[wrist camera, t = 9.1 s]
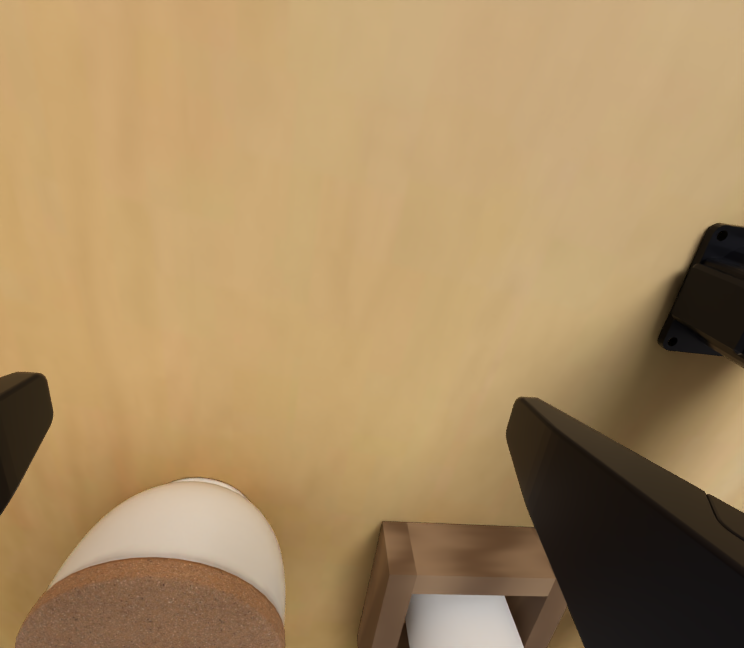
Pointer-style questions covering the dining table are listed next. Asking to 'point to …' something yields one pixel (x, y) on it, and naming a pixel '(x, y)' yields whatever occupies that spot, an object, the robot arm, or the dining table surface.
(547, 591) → the sleeve block
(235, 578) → the lidded jar
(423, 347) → the dining table surface
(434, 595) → the can
